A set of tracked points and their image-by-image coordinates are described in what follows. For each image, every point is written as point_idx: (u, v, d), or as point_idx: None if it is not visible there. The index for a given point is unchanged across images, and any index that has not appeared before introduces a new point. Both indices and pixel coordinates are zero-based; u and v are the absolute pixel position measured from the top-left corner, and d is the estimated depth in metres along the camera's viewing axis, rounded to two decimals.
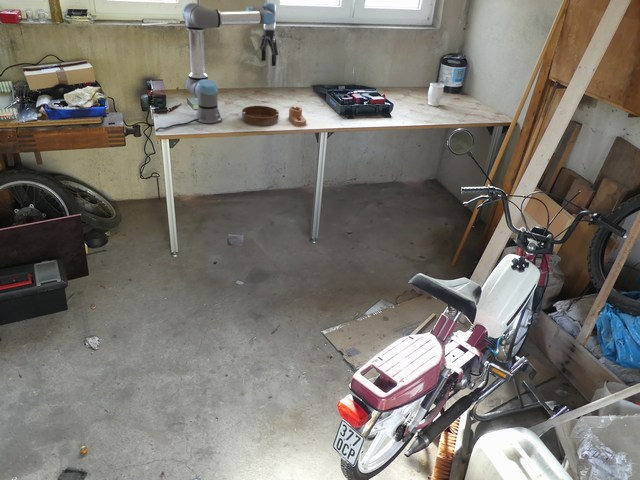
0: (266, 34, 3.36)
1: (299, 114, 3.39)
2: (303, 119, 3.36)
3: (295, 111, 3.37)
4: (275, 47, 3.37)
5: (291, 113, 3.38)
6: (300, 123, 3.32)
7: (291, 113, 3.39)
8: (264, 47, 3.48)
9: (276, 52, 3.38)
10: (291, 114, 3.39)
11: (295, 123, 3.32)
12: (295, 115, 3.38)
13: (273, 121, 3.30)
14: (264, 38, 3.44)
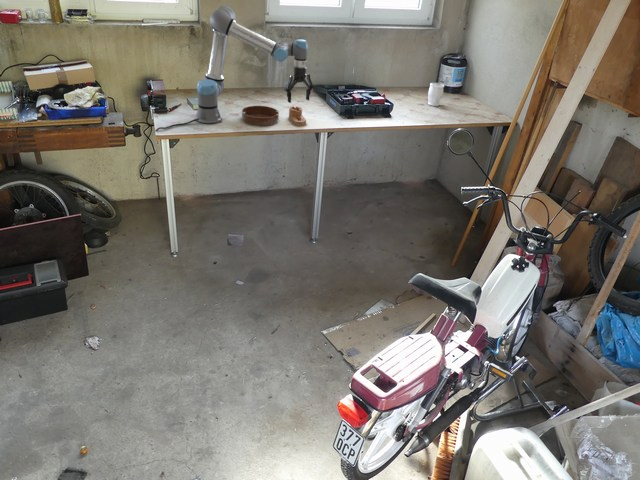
0: None
1: (299, 114, 3.39)
2: (303, 119, 3.36)
3: (295, 111, 3.37)
4: (288, 83, 3.23)
5: (291, 113, 3.38)
6: (300, 123, 3.32)
7: (291, 113, 3.39)
8: (306, 86, 3.31)
9: (286, 88, 3.23)
10: (291, 114, 3.39)
11: (295, 123, 3.32)
12: (295, 115, 3.38)
13: (273, 121, 3.30)
14: (306, 76, 3.28)
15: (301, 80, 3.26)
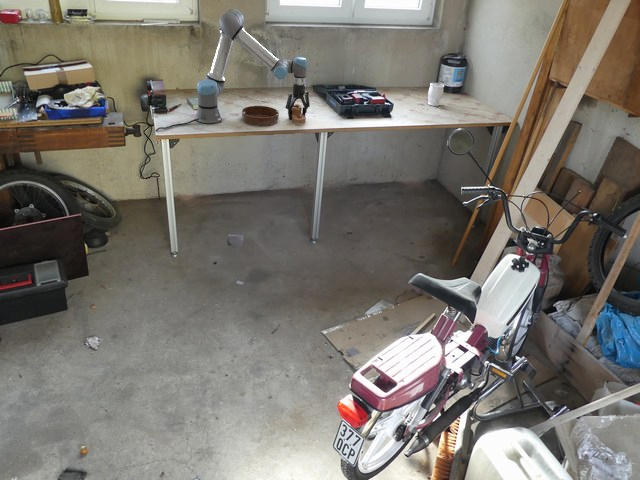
0: None
1: (299, 112, 3.38)
2: (303, 117, 3.35)
3: (295, 109, 3.36)
4: (288, 101, 3.29)
5: None
6: (300, 121, 3.31)
7: None
8: (303, 104, 3.36)
9: (287, 106, 3.30)
10: None
11: (295, 121, 3.32)
12: (295, 113, 3.37)
13: (273, 121, 3.30)
14: None
15: (300, 97, 3.31)
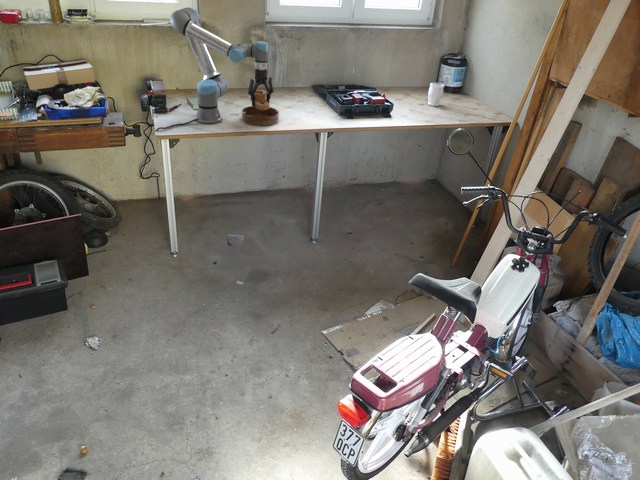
0: None
1: (262, 98, 3.31)
2: (266, 103, 3.27)
3: (258, 94, 3.29)
4: (250, 87, 3.21)
5: None
6: (262, 107, 3.23)
7: None
8: (266, 89, 3.29)
9: (249, 92, 3.23)
10: None
11: (257, 107, 3.24)
12: (258, 99, 3.30)
13: (273, 121, 3.30)
14: (267, 79, 3.26)
15: (262, 82, 3.24)
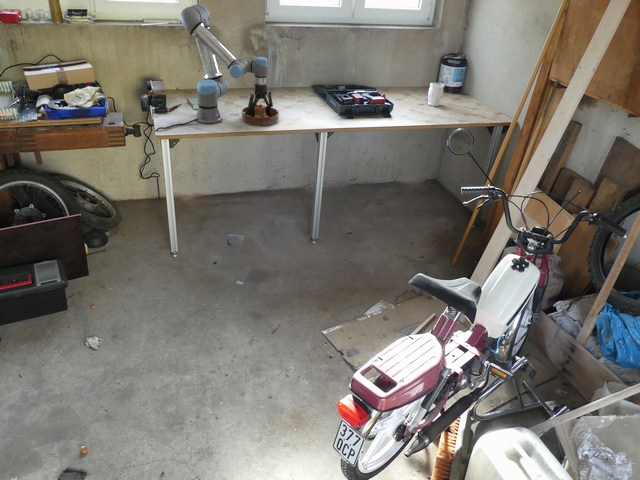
0: None
1: (262, 112, 3.36)
2: None
3: (258, 109, 3.33)
4: (250, 101, 3.26)
5: None
6: None
7: None
8: (266, 104, 3.34)
9: (249, 106, 3.27)
10: None
11: None
12: (258, 113, 3.35)
13: (273, 121, 3.30)
14: (267, 94, 3.31)
15: (262, 97, 3.28)
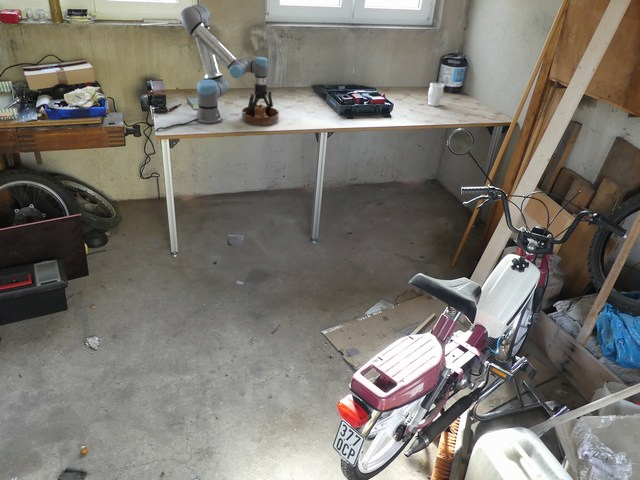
0: None
1: (262, 112, 3.36)
2: None
3: (258, 109, 3.33)
4: (250, 101, 3.26)
5: None
6: None
7: None
8: (266, 104, 3.34)
9: (249, 106, 3.27)
10: None
11: None
12: (258, 113, 3.35)
13: (273, 121, 3.30)
14: (267, 94, 3.31)
15: (262, 97, 3.28)
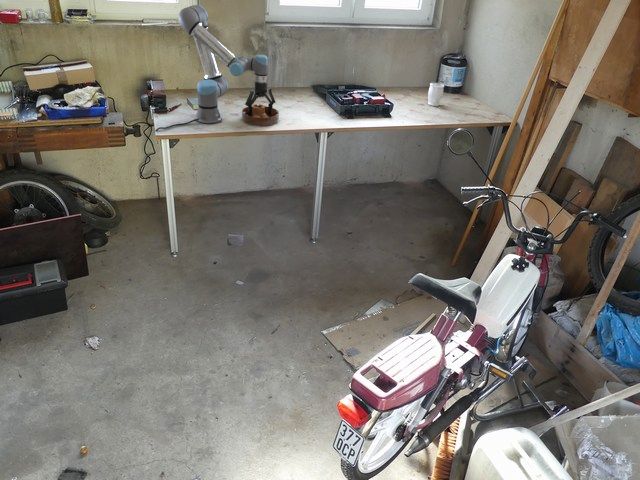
0: None
1: (262, 112, 3.36)
2: None
3: (257, 109, 3.33)
4: (248, 98, 3.25)
5: (254, 111, 3.35)
6: None
7: (253, 111, 3.35)
8: (268, 100, 3.33)
9: (247, 103, 3.25)
10: (254, 112, 3.35)
11: None
12: (258, 113, 3.35)
13: (273, 121, 3.30)
14: (267, 91, 3.30)
15: (262, 95, 3.28)
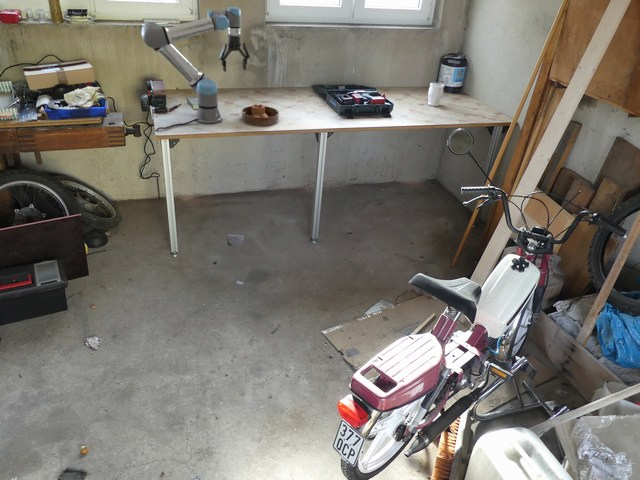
0: None
1: (262, 112, 3.36)
2: None
3: (257, 109, 3.33)
4: (222, 51, 3.22)
5: (254, 111, 3.35)
6: None
7: (253, 111, 3.35)
8: (242, 55, 3.30)
9: (220, 56, 3.22)
10: (254, 112, 3.35)
11: None
12: (258, 113, 3.35)
13: (273, 121, 3.30)
14: (241, 45, 3.27)
15: (236, 49, 3.25)
